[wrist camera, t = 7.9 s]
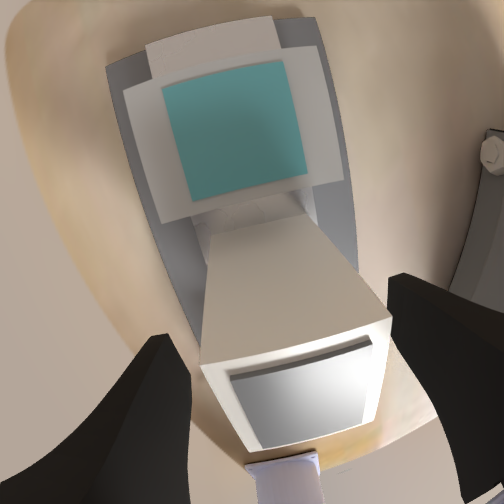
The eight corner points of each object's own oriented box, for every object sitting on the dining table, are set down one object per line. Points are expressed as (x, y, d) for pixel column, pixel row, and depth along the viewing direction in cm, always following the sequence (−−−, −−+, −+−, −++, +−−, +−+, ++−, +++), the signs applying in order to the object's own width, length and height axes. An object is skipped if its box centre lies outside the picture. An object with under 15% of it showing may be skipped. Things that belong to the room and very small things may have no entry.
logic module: (317, 301, 13) (375, 424, 7) (237, 320, 13) (249, 456, 7) (306, 213, 11) (395, 321, 5) (211, 235, 12) (198, 371, 5)
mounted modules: (339, 369, 16) (352, 399, 14) (245, 392, 16) (248, 425, 14) (297, 61, 9) (317, 44, 7) (143, 97, 9) (121, 90, 7)
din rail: (330, 384, 17) (332, 391, 17) (259, 402, 17) (260, 409, 17) (269, 20, 8) (271, 15, 8) (148, 48, 9) (144, 45, 8)
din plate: (352, 366, 18) (357, 375, 17) (231, 396, 18) (231, 407, 17) (308, 24, 9) (314, 17, 8) (113, 70, 9) (105, 66, 9)
